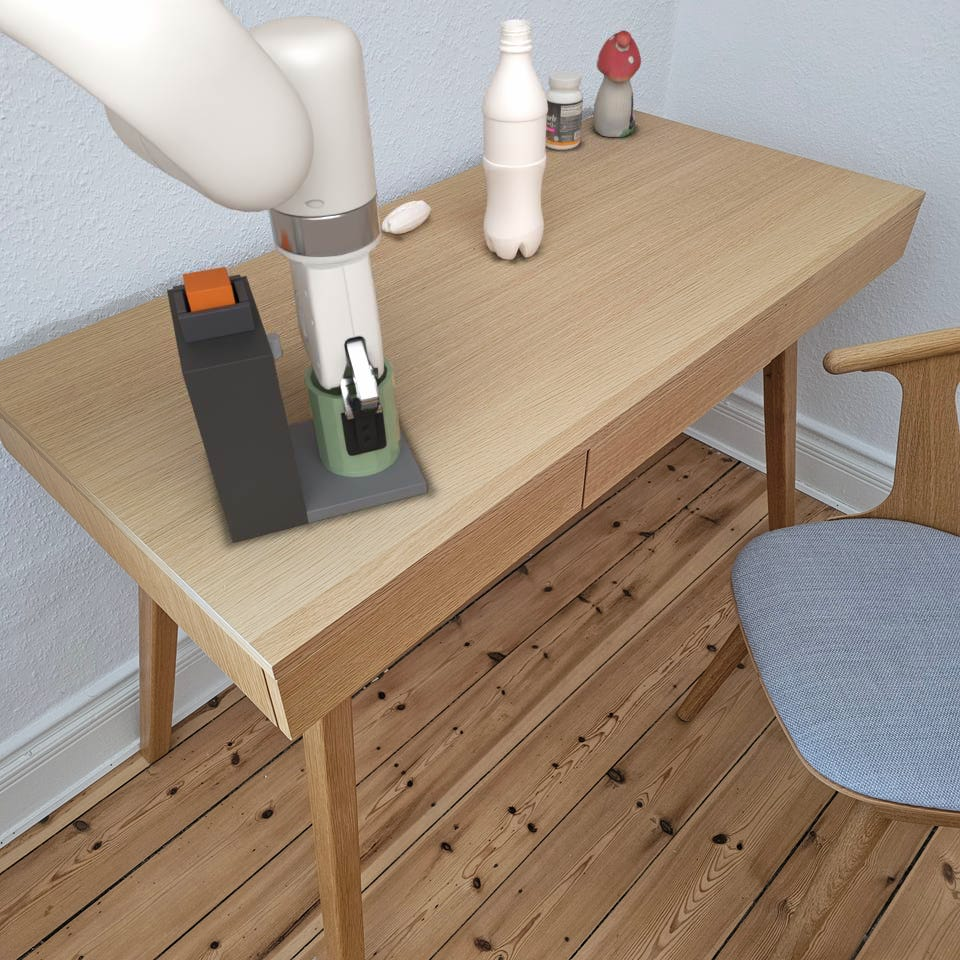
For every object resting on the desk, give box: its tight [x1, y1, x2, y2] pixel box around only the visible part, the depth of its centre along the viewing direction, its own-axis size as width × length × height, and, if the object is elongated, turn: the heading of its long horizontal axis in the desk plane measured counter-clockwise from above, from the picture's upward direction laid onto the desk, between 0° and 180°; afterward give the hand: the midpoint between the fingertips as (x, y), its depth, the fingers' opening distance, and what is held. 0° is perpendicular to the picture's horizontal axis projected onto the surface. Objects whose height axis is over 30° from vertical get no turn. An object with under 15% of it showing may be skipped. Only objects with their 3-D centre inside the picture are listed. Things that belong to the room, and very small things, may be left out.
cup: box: [303, 355, 401, 477], centre depth 70 cm, size 7×7×8 cm
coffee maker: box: [166, 273, 428, 544], centre depth 67 cm, size 16×12×18 cm
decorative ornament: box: [592, 29, 642, 138], centre depth 128 cm, size 9×7×15 cm
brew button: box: [182, 266, 236, 312], centre depth 59 cm, size 3×3×2 cm
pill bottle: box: [545, 69, 584, 151], centre depth 126 cm, size 6×6×10 cm
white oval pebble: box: [381, 199, 432, 235], centre depth 107 cm, size 3×8×3 cm, turn 145°
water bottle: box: [481, 19, 548, 261], centre depth 95 cm, size 7×7×25 cm
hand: (355, 421), depth 71 cm, fingers closed on cup, 7 cm apart
